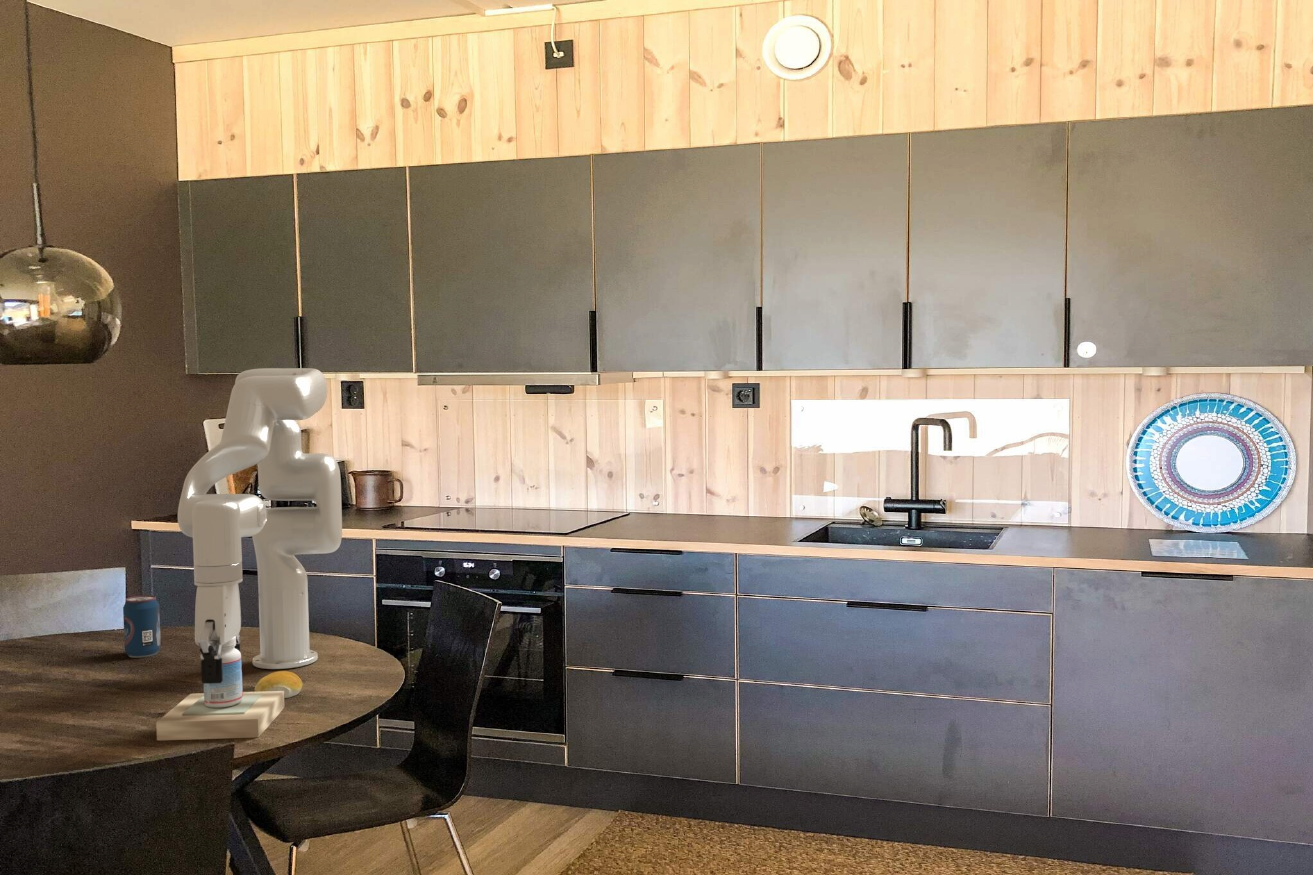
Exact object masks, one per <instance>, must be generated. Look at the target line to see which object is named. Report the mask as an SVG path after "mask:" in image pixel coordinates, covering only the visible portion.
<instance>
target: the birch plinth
mask: <svg viewBox="0 0 1313 875" xmlns="http://www.w3.org/2000/svg"><path fill="white" fill-rule="evenodd" d="M284 709H285V698H284V691H264V692H255V691H243V700H242V701H241V702H240V703H238V704H236V705H233V706H230V707H223V708H212V707H208V706H206V705H205V703H204V692H203V693H190V694H188V695H187V696H186V697H185V698H184V699H183V700H181V701H180V702H179V703H177V705H175V706H173V707H172V709H170V710H169V711H168V712H166V714H164V715H163V716H162V717H161V718H159V719H158V720H157V721H156V722H155V724H156V725H155V726H156V728H155V729H156V741H180V740H181V741H182V740H183V741H186V740H189V741H190V740H208V739H209V740H212V739H213V740H214V739H215V740H216V739H217V740H218V739H244V738H249V739H250V738H259V737H260V736H261V735H262V734H263V733H264V732H265V730H267V728H269V726H270V725H271V724H272V723H273V722H274V720H275V719H276V718H277V717H278V716H279V715H280V714H281V712H282V711H283V710H284Z"/></svg>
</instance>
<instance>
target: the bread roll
mask: <svg viewBox="0 0 1313 875" xmlns="http://www.w3.org/2000/svg"><path fill="white" fill-rule="evenodd" d="M303 684H304V683H303V681H302V679H301V678H300V677H299V676H298V675H297V674H296V673H294V672H293V671H287V670H278V671H274V672H271V673H269V674H267V675H265V676H264V677H262V678H260V679H259V680H258V681H257V683H256V684H255V687H254V692H264V691H284V699H289V698H292V697H295V696H297V695H299V693H300V692H301V690H302V687H303Z"/></svg>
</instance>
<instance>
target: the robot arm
mask: <svg viewBox="0 0 1313 875" xmlns="http://www.w3.org/2000/svg"><path fill="white" fill-rule="evenodd" d="M327 398H328V383H327V380H326V377H325V375H324V374H323V372H322V371H320V370H319V369H317V368H305V367H302V368H298V367H297V368H295V367H294V368H292V367H291V368H286V367H285V368H281V367H280V368H278V367H276V368H275V367H274V368H273V367H271V368H270V367H269V368H267V367H266V368H253V369H247V370H244V371H241V372H240V373H238V374H237V376H236V378H235V383H234V384H233V387H232V389H231V392H230V397H229V402H228V406H227V412H226V415H225V420H224V425H223V430H222V434H221V439H220V442H219V443H218V444H216V445H215V446H214V447H213V448H211V449H210V450H209V451H208V452H206V453H205V454H204V455H203V456H202V457H201V458H200V459H199V460H197V462H196V463H195V464H194V465H193V466H192V467H191V469H190V470H189V471H188V472H187V475H186V477H185V479H184V482H183V486H182V491H181V494H180V499H179V502H178V508H177V523H178V524H177V525H178V527H179V529H180V531H181V533H182V534H183V535H185V536H187V537H190V538H192V548H193V549H192V552H193V580H194V582H193V583H194V585H195V586H196V587H197V588H196V594H195V595H196V596H195V606H194V608H195V610H194V643H195V644H196V645H197V646H199V648H200V649H199V652H200V664H201V665H200V666H201V667H200V668H201V683H202V684H203V685H204V684H208V683H221V682H222V681H223V669H222V658H220V653H221V648H222V645H224V644H225V643H227V642H228V641H230V640H231V639H232V638H233V637H235V636H236V646H235V649H237V650H239V651H240V652H241V636H240V631H241V628H242V627H241V626H242V613H241V612H242V611H241V609H242V608H241V599H240V597H241V596H240V589H239V588H240V587H239V584H240V583H242V582H243V554H242V552H243V551H242V550H243V549H242V538H249V537H252V543H253V546H254V548H253V549H254V552H255V557H256V567H257V584H258V585H257V586H258V613H259V614H258V620H259V645H260V646H259V647H260V648H259V649H260V653H259V654H257V655H255V656H254V657H253V658H252V665H253V666H254V667H256V668H259V669H264V670H265V669H266V670H286V669H293V668H299V667H304V666H308V665H310V664H313V663H315V662H316V661H317V660H319V659H318V658H319V657H318V656H319V655H318V652H317V651H315V650H312V649H310V627H309V626H310V624H309V622H310V620H309V619H310V618H309V616H310V615H309V591H308V590H309V589H308V587H309V586H308V575H307V571H306V569H305V567H304V566H303V565H302V563H301V562H300V561H299V560H298V559H297V557H296V556H297V555H316V554H317V555H319V554H322V555H323V554H330V553H334V552H336V551H337V550H338V549H339V548H340V546H341V543H342V537H343V515H342V514H343V513H342V511H343V510H342V508H343V507H342V506H343V505H342V480H341V471H340V470H341V469H340V466H339V462H338V461H337V459H336V458H335V457H334V456H332V455H331V454H328V453H319V452H318V453H317V452H316V453H312V452H311V453H305V452H303V450H302V448H303V447H302V430H301V427H300V425H299V423H298V422H297V421H305V420H307V419H309V418H311V417H312V416H315V414H316V413H318V412H320V410H322V409H323V407H324V405H325V403H326V402H327ZM256 465H257V476H258V477H257V478H258V481H257V482H258V487H259V488H258V489H259V492H260V495H261V496H262V497H263V498H265V499H267V500H269V501H281V502H282V501H285V502H287V501H296V502H297V501H313V502H315V504H316V506H303V507H301V506H290V507H289V506H286V507H285V506H284V507H271V508H270V507H269V508H267V506H266V503H265V502H264V500H263V499H262V498H260V497H259V496H257V495H255V494H251V493H250V494H249V493H230V494H229V493H210V494H209V493H208V492H209V490H210V489H211V488H212V487H213V486H214V485H215V484H217V483H218V482H219V481H222V480H223V479H225V478H226V477H229V476H231V475H234V474H236V473H239V472H241V471H243V470H246V469H249V468H251V467H253V466H256ZM213 646H216V650H214V647H213Z"/></svg>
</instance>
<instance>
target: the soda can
mask: <svg viewBox="0 0 1313 875" xmlns="http://www.w3.org/2000/svg"><path fill="white" fill-rule="evenodd" d="M122 611H123V614H122V615H123V618H122V619H123V636H124V637H123V640H124V643H123V645H124V646H123V647H124V652H125V653H126V655H127V656H128V657H129V658H137V659H139V658H148V657H152V656H156V655H157V654H158V652H159V651H160V650H161V648H162V646H161V642H162V641H161V639H162V638H161V618H160V617H161V616H160V603H159V602H158V601H157V597H156V595H149V594H148V595H147V594H146V595H135V596H130V597H127V598H126V599H125V603H124V605H123V607H122Z"/></svg>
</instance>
